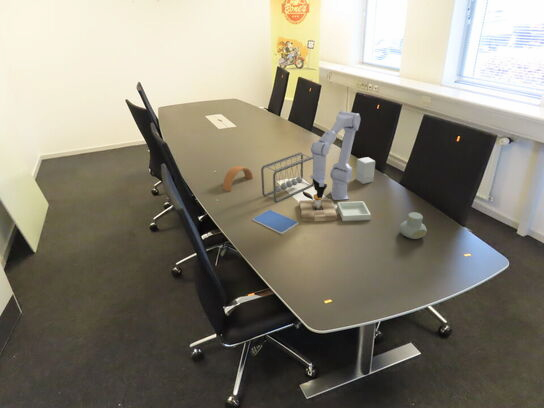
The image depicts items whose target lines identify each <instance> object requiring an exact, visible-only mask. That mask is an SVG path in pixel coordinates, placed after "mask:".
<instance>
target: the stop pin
mask: <svg viewBox="0 0 544 408" xmlns="http://www.w3.org/2000/svg"><path fill="white" fill-rule="evenodd" d="M313 200H315V205H314V210H322V209H321V200H323V197H322V198H318V197H317V193H315V194H314V195H313ZM314 210H313V211H314Z"/></svg>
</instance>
